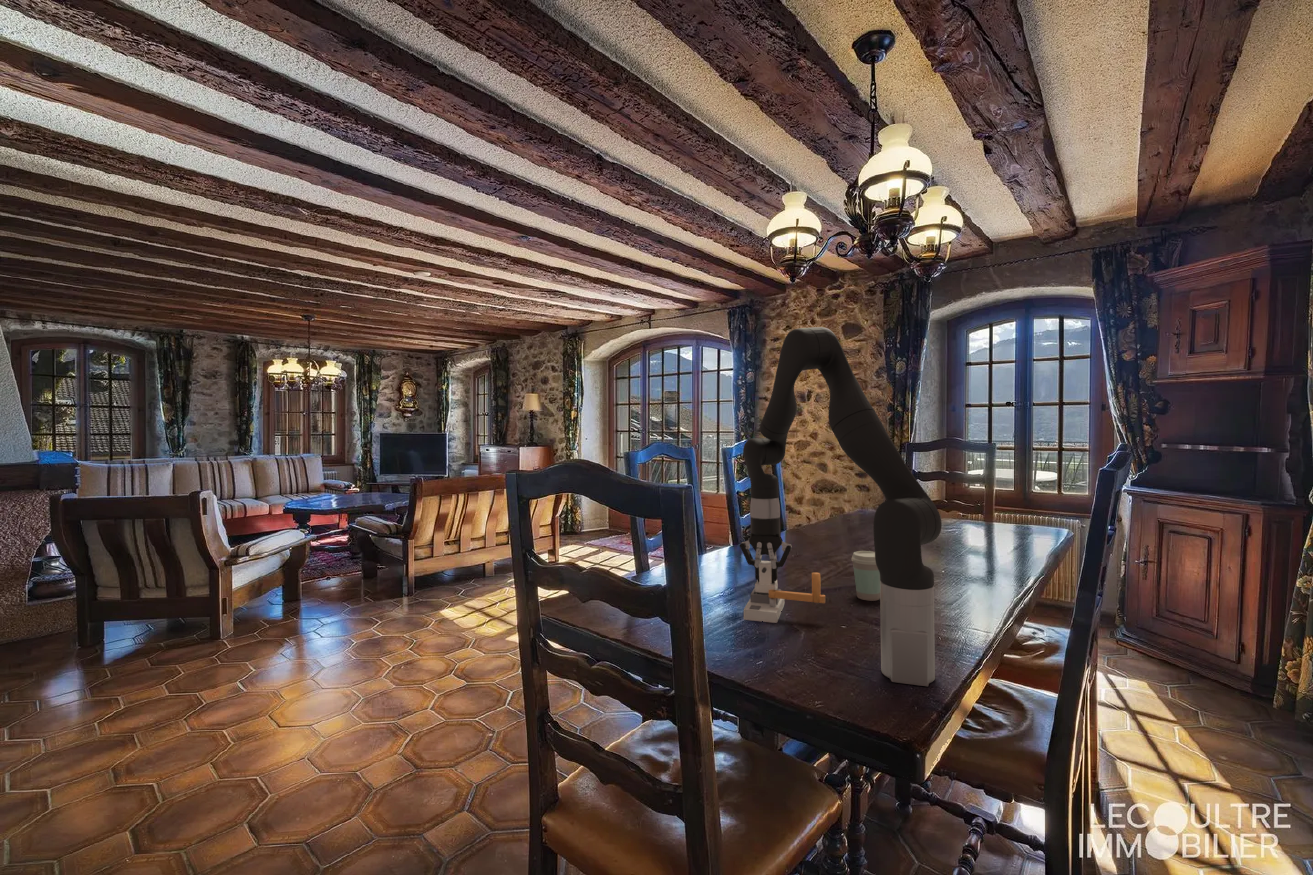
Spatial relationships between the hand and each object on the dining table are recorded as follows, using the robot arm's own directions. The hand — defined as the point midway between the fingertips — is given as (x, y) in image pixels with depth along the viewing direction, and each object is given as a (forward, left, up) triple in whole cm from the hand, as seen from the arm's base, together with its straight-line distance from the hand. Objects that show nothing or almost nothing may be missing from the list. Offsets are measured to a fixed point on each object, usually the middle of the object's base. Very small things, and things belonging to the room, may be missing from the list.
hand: (766, 581), depth 142 cm
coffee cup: (+18, -25, -7) cm, 32 cm away
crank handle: (-5, -8, -2) cm, 10 cm away
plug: (0, 0, -2) cm, 2 cm away
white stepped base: (-2, 0, -7) cm, 7 cm away
